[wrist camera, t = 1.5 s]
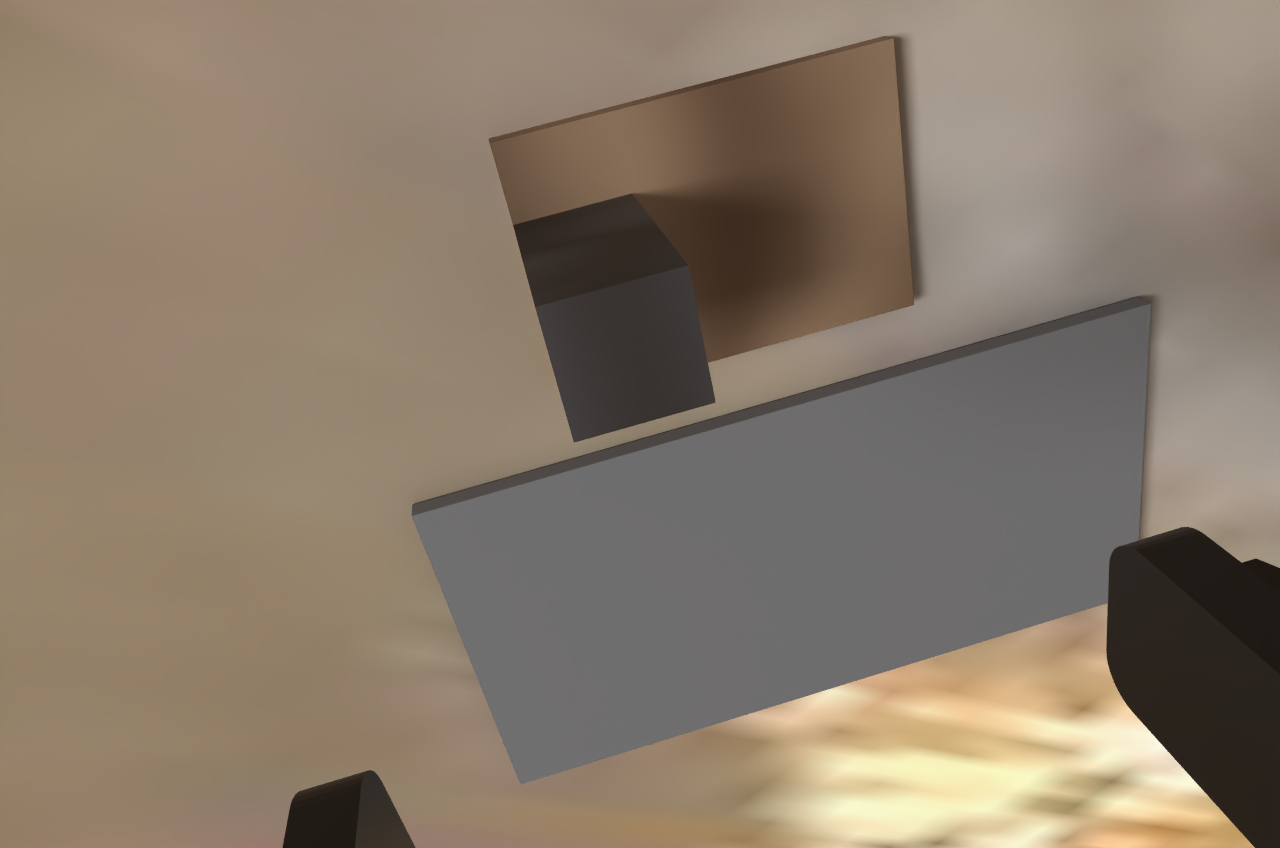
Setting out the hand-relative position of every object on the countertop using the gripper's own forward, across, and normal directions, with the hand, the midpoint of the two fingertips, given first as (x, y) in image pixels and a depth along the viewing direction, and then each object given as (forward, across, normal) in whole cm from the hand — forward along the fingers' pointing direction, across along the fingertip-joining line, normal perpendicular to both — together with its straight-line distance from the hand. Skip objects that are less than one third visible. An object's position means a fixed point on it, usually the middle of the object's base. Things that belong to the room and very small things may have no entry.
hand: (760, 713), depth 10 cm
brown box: (+16, -4, 0) cm, 17 cm away
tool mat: (+16, -5, +11) cm, 20 cm away
